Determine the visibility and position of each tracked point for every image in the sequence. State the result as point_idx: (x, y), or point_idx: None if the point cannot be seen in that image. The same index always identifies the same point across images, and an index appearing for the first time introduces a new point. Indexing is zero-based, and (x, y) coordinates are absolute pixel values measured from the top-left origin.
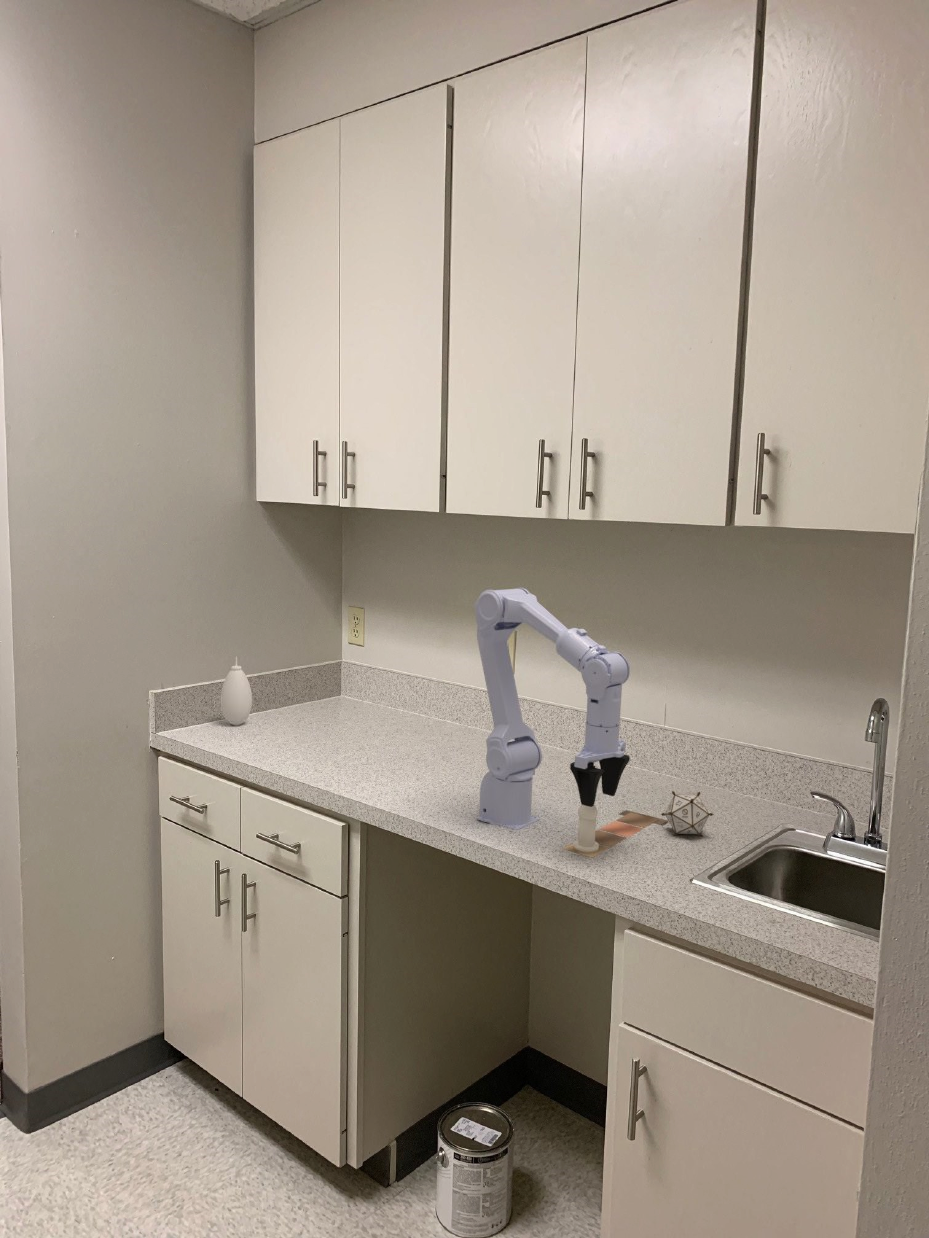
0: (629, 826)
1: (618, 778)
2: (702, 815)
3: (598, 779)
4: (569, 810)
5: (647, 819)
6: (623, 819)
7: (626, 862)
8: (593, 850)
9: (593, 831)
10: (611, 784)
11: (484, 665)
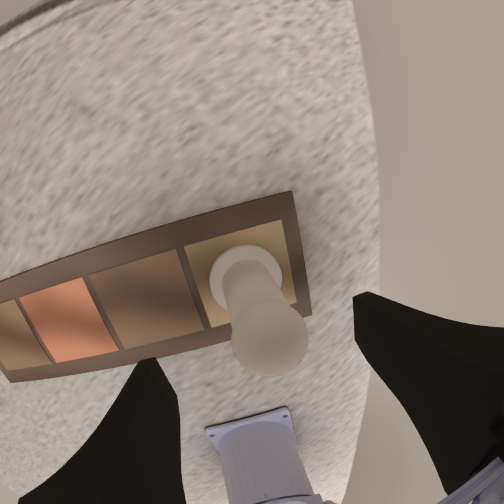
0: (41, 323)
1: (123, 421)
2: None
3: (475, 346)
4: None
5: None
6: (35, 357)
7: (213, 149)
8: (252, 246)
9: (254, 279)
10: (154, 410)
11: None
